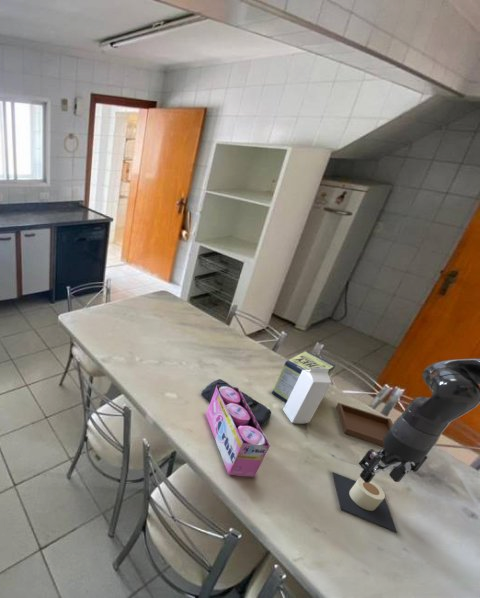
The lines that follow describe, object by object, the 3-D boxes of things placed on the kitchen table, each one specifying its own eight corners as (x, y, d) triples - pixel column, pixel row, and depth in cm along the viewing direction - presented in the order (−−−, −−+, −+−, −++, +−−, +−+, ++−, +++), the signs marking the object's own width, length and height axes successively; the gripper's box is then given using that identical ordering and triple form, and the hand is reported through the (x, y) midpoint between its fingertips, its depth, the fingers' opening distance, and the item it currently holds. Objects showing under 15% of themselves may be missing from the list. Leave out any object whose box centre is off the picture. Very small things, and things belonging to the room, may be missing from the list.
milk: (282, 410, 119) (305, 361, 109) (298, 411, 119) (323, 362, 109) (292, 423, 114) (317, 373, 104) (309, 424, 114) (335, 374, 104)
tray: (386, 425, 116) (390, 419, 115) (400, 454, 105) (405, 448, 104) (334, 408, 122) (338, 402, 120) (342, 434, 111) (346, 428, 109)
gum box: (203, 412, 115) (213, 382, 109) (226, 413, 115) (237, 384, 109) (228, 475, 94) (242, 443, 88) (255, 477, 94) (271, 445, 88)
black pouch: (220, 380, 132) (223, 370, 129) (274, 416, 116) (279, 406, 114) (196, 394, 123) (199, 384, 121) (252, 435, 108) (257, 425, 106)
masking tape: (372, 495, 92) (381, 484, 89) (378, 515, 87) (388, 503, 84) (346, 485, 94) (354, 474, 91) (351, 504, 89) (360, 492, 87)
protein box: (318, 397, 127) (336, 365, 120) (298, 411, 119) (315, 378, 112) (291, 380, 134) (306, 349, 127) (270, 393, 127) (285, 361, 120)
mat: (381, 492, 93) (382, 491, 93) (396, 532, 83) (397, 531, 83) (332, 473, 97) (332, 472, 97) (340, 509, 88) (341, 508, 87)
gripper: (398, 450, 75) (366, 494, 82) (454, 449, 76) (417, 492, 84) (370, 424, 82) (342, 466, 89) (422, 423, 83) (390, 465, 90)
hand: (378, 479), depth 86 cm, fingers open, 8 cm apart
